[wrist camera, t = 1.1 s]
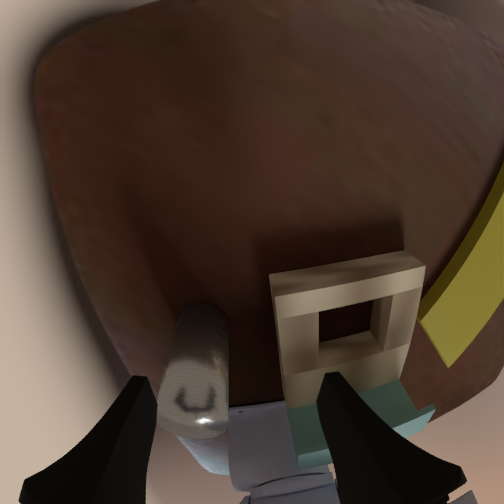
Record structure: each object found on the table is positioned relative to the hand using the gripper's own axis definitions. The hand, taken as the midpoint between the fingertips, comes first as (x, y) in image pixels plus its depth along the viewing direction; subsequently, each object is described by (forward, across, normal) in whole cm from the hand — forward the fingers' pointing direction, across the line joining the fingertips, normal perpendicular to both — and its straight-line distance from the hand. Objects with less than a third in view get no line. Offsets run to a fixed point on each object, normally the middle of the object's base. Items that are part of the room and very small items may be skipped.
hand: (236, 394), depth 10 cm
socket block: (+10, -9, +5) cm, 14 cm away
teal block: (+7, -10, +10) cm, 15 cm away
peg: (+10, +2, +4) cm, 11 cm away
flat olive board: (+10, -26, -1) cm, 29 cm away
